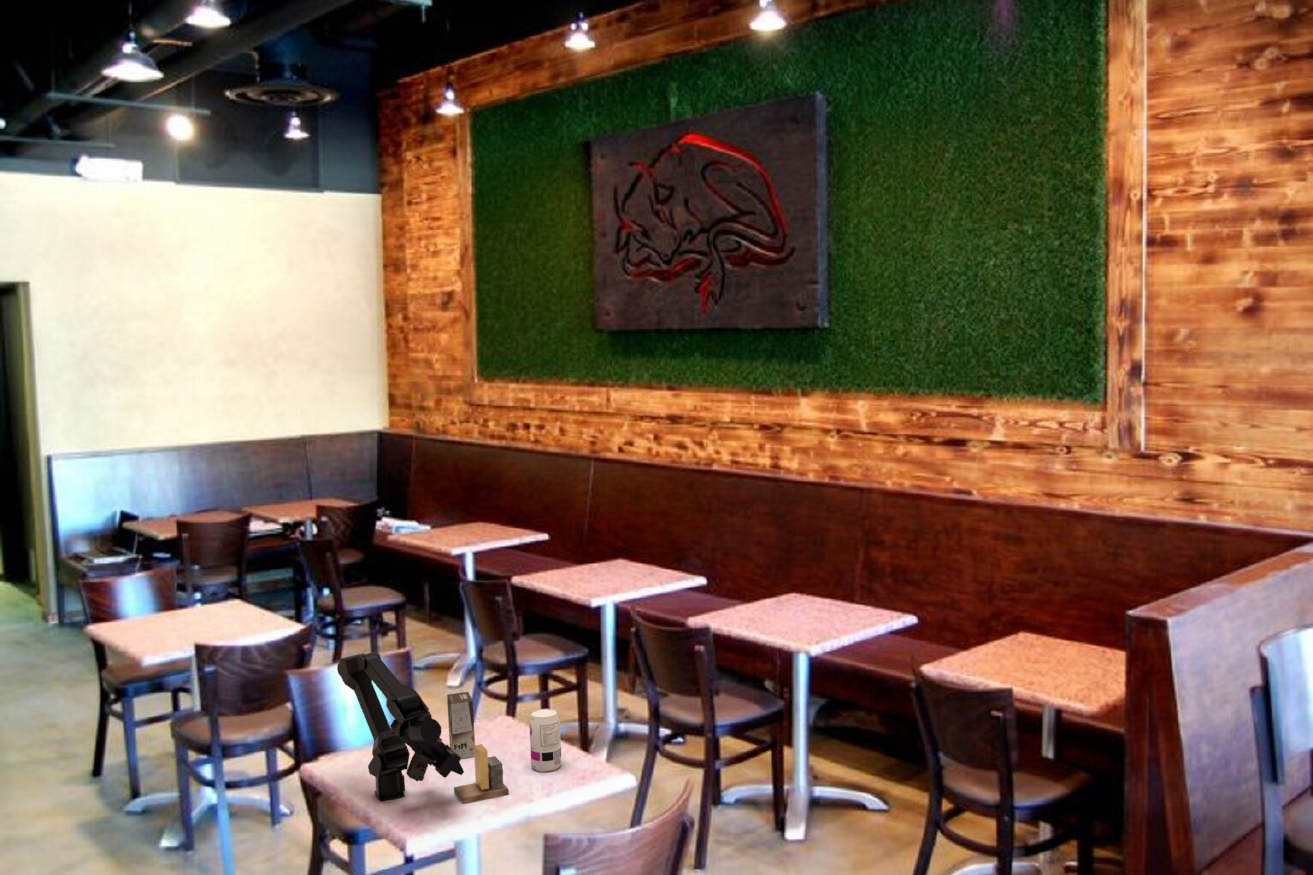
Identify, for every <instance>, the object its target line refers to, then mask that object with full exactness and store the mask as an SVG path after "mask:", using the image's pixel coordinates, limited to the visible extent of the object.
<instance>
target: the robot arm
mask: <svg viewBox="0 0 1313 875" xmlns="http://www.w3.org/2000/svg"><path fill="white" fill-rule="evenodd" d="M336 668H337V669H336V670H337V673H338V675H339V676H340V678H341V680H342V682H343V684H344V685H345V686H346V687H348V688H349V689H351V690H352V691H353V692H354V695H355V696H356V699H357V701H358V703H359V706H360V709H361V711H362V712H361V713H362V714H363V716H364V719H365V721H366V724H367V726H368V728H369V732H370V734H371V736H372V739H373V746H372V750H371V754H372V759H371V760H370V762H369V763H368V764H367V767H368V772H369V775H371V776H373V777H374V778H375V790H374V794H375V795H376V798H377V799H378V801H379V802H382V801H383V802H384V801H387V800H393V799H397V798H403V797H405V795H406V794H405V791H406V785H405V783H406V781H405V775H404V774H403V771H404V770H405V771H406V775H407V777H408V778H409V779H411V780H415V782H423V781H424V780H425V775H426V773H427V770H428V767H429V766H433V767H434V770H435V771H436V772H437V773H438V774H439V775H440V776H441V777H443V778H444V779H446V778H447V777H448V776H449V775H450V773H451V772H452V773H455V774H457V775H459V776H462V775H463V774H464V773H465V771H464V769H463V766H462V764H461V762H460V761H461V759H462V758H461V757H460V756H459V755H458V754H457V753H456V752H455V751H453V750H452V749H451V748H450V745H448V744H445V743H444V742H443V739H442V738H441V735H442V726H441V724H440V723H439V721H438V720H436V719H435V718H433V717H432V714H431V712H430V708H429V707H428V705H427V704H426V703H425V701H424V700H423V698H422V696H421V695H420V694H419V693H418V692H417V691H416V690H415V689H414V688H413V687H412V686H409V685H407V684H403V683H402V682H400V680H399V679H398V678H397V677H396V675H395V674H394V673H393V672H392V671H391V670H390V669H389V667H388V666H387V665H386V663H385V662H384V661H383V660H382V656H381V655H380V653H379V652H376V651H373V652H369V653H364V652H362V653H358V654H357V653H356V654H353V655H348V656H345V657H342V658H340V660H339V663H337V666H336ZM373 684H374V685H375V686H376V687H377V688H378V690H379V691H380V693H382V695H383V696H384V697H385V699H386V704H385V705H386V708H387V709H388V710H387V711H389V714H390V715H391V716H392V717H393V718H394V719H393V721H392V722H391V724H390V723H389V721H388V719H387V717H386V714H385V711H384V708H383V707H382V706H383V705H382V704H381V702H380V699H379V697H378V694H377V691H376V690H375V687H374V685H373ZM408 747H409V748H410V749H411V750H412V751H413V752H414V754H412V757H411V758H410V755H411V754H410V751H409V748H408ZM409 759H410V760H409Z"/></svg>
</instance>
